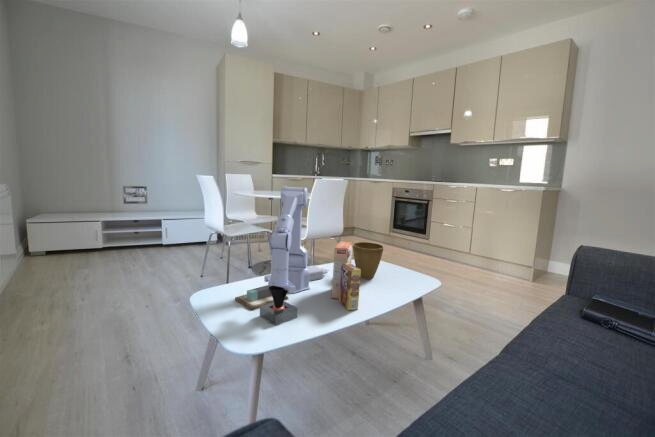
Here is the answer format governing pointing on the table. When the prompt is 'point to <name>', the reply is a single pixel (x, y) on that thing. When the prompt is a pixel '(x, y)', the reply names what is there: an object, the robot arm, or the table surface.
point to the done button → (278, 308)
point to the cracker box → (340, 257)
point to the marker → (258, 293)
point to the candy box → (349, 286)
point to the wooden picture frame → (256, 303)
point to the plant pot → (367, 258)
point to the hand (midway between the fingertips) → (278, 307)
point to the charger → (316, 272)
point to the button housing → (278, 313)
